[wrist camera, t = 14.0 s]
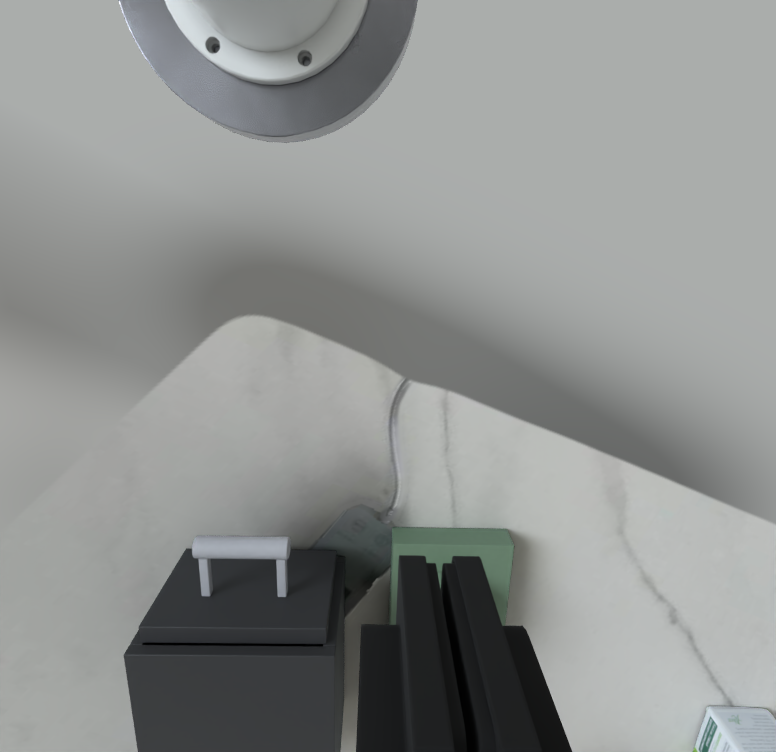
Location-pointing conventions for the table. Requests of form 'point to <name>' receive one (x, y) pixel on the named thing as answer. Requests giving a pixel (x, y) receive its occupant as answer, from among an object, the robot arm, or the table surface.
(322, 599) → the drawer
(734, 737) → the syrup box
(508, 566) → the control block
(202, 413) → the table surface
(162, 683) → the dark grey drawer cabinet
